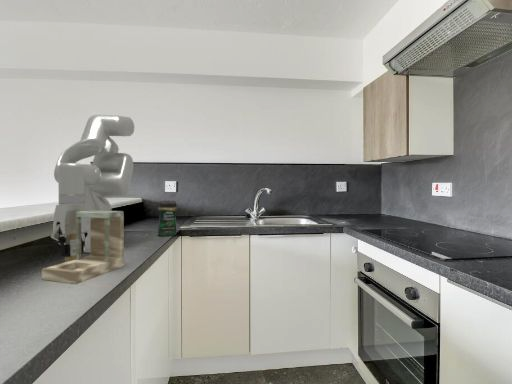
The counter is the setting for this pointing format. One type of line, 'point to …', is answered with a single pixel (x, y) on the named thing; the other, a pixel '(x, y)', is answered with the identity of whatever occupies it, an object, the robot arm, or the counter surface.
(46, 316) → the counter surface
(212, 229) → the counter surface
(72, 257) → the sprinkles bottle
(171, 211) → the coffee jar
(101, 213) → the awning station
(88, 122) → the robot arm
